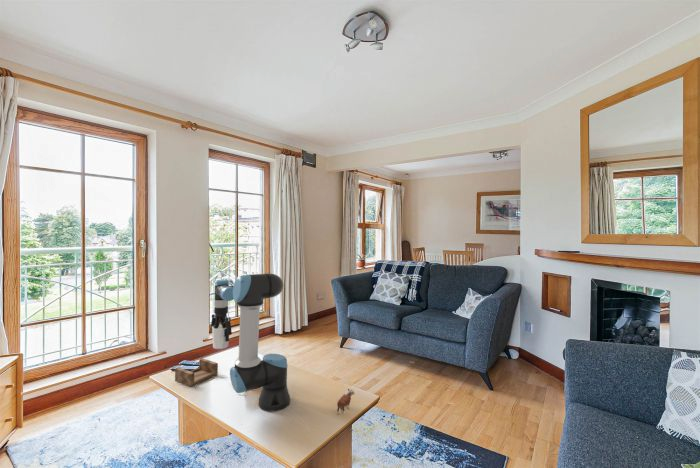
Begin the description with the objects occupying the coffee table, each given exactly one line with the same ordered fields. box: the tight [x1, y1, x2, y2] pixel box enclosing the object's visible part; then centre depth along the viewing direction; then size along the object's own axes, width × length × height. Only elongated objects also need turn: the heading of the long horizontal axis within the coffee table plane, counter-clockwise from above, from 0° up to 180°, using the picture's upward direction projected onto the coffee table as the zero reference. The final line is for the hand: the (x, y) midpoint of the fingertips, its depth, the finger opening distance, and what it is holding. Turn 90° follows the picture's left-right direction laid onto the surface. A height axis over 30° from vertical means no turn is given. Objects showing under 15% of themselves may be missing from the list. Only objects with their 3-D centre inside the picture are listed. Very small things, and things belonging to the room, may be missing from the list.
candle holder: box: [211, 323, 230, 350], centre depth 186 cm, size 10×10×12 cm
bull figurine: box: [336, 388, 356, 414], centre depth 153 cm, size 4×13×8 cm, turn 149°
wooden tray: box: [174, 358, 219, 388], centre depth 182 cm, size 14×17×7 cm
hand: (220, 344), depth 186 cm, fingers closed on candle holder, 9 cm apart
